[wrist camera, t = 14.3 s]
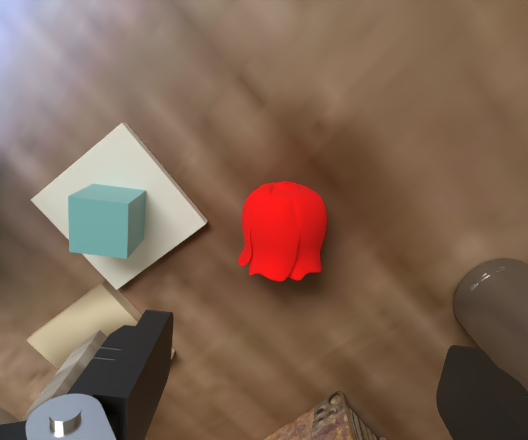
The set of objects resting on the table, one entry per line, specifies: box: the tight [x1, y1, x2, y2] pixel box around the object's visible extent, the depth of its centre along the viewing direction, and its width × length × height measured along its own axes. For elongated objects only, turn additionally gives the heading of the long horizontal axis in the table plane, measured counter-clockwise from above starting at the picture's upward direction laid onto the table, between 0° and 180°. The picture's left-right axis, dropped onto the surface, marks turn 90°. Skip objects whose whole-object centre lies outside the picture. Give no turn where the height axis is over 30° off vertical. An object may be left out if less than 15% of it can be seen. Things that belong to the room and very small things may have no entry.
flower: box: [238, 181, 327, 281], centre depth 36 cm, size 8×8×8 cm
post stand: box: [22, 279, 175, 421], centre depth 39 cm, size 11×11×12 cm
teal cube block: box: [68, 184, 146, 259], centre depth 36 cm, size 5×5×5 cm
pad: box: [31, 122, 208, 290], centre depth 39 cm, size 12×12×1 cm
